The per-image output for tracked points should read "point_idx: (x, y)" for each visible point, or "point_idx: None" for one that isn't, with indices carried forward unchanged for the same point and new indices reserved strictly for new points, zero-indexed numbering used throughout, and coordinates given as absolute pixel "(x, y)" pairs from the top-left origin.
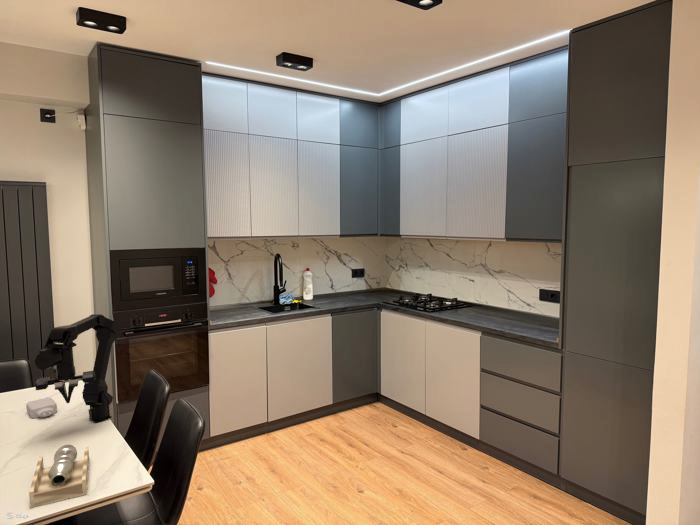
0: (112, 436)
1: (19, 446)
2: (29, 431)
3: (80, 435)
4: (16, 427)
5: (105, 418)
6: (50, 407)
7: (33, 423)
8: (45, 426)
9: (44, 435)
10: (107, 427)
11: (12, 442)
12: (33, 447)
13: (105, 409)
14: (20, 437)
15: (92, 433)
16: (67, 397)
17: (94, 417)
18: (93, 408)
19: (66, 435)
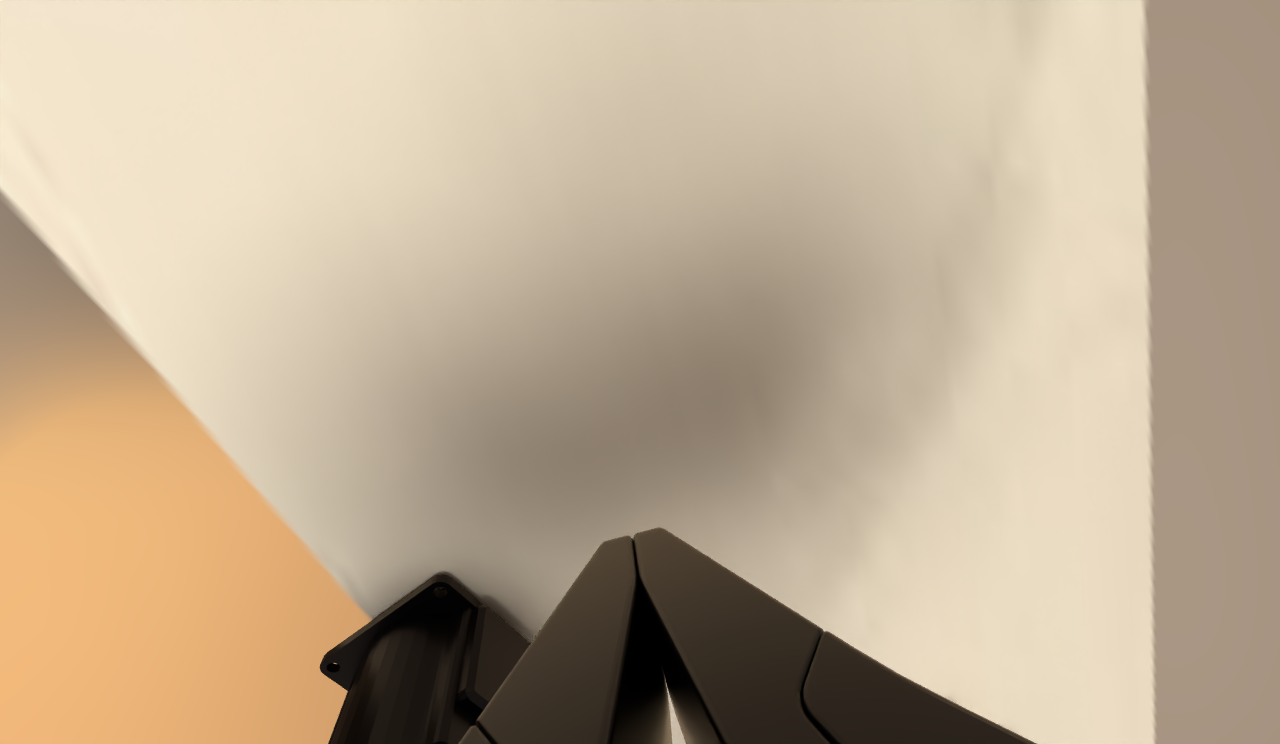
0: (54, 181)
1: (1037, 211)
2: (988, 519)
3: (498, 320)
4: (1083, 606)
5: (369, 639)
6: None
7: (976, 652)
8: (881, 587)
9: (857, 409)
10: (266, 457)
11: (1097, 326)
12: (910, 139)
13: (336, 731)
14: (1044, 416)
15: (377, 340)
16: (672, 686)
17: (456, 633)
18: (441, 724)
19: (650, 358)
